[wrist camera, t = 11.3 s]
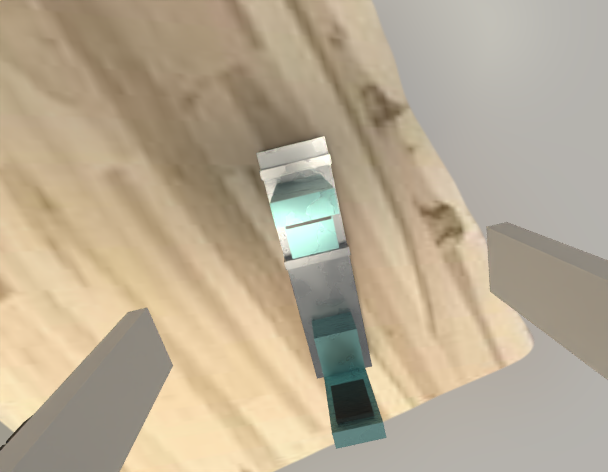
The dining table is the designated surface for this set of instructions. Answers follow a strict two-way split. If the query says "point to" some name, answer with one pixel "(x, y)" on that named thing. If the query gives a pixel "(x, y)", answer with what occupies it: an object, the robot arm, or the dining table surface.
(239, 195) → the dining table surface
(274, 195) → the teal block
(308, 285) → the rail
